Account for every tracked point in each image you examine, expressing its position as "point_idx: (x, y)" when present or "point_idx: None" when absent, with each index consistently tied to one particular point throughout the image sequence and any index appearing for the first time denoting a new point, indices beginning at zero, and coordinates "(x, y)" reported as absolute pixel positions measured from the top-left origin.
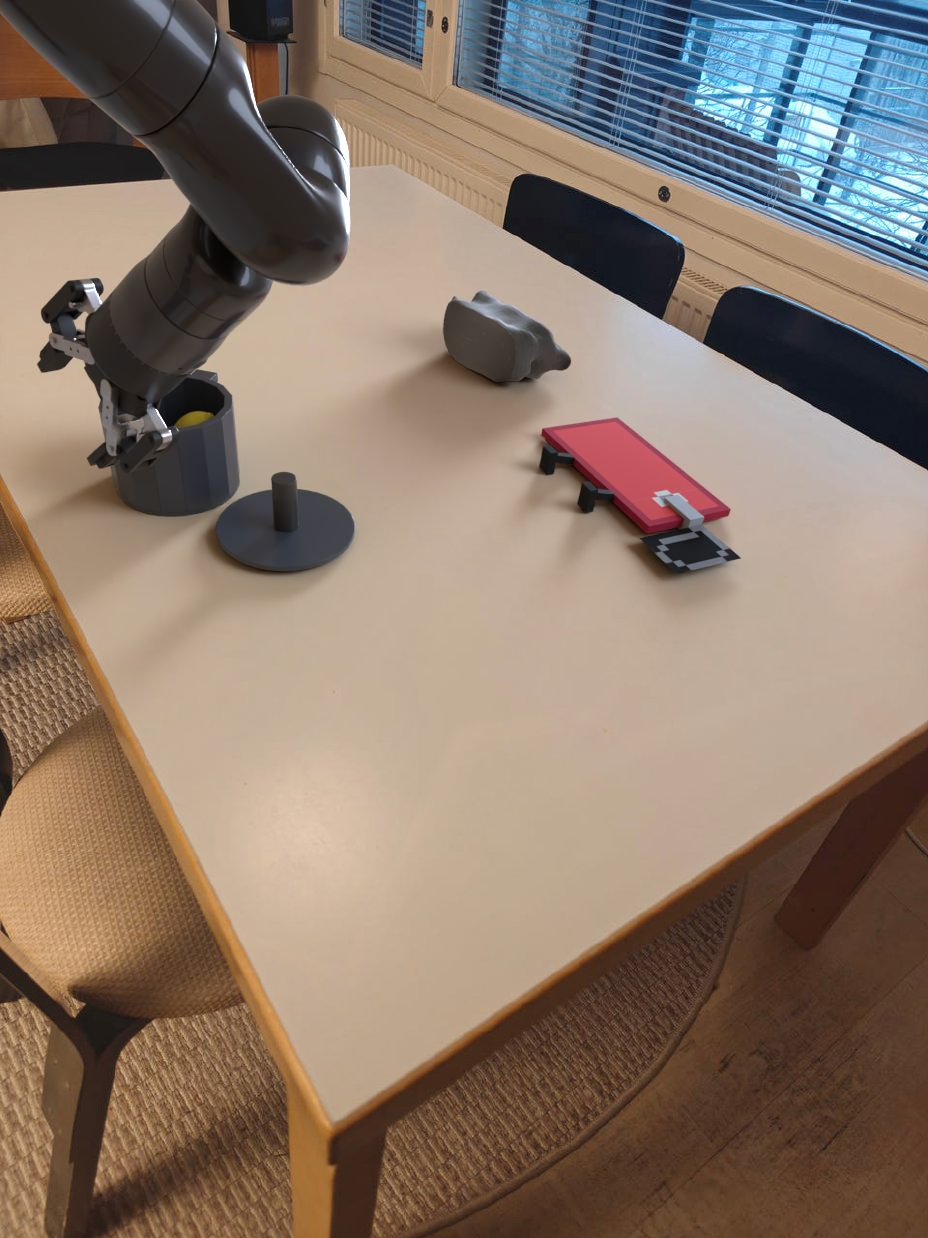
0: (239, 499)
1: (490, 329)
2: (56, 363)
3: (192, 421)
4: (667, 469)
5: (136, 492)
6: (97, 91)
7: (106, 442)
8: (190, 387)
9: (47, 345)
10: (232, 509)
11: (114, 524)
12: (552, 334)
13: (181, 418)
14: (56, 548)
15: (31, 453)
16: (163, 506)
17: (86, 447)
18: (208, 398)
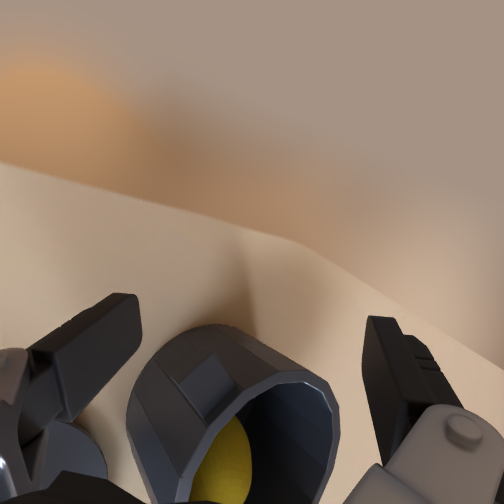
0: (104, 469)
1: None
2: (373, 367)
3: (223, 490)
4: None
5: (188, 345)
6: None
7: (24, 363)
8: (294, 500)
9: (440, 380)
10: (87, 454)
11: (173, 298)
12: None
13: (244, 470)
14: (170, 220)
15: (323, 278)
16: (153, 365)
17: (306, 326)
18: None
